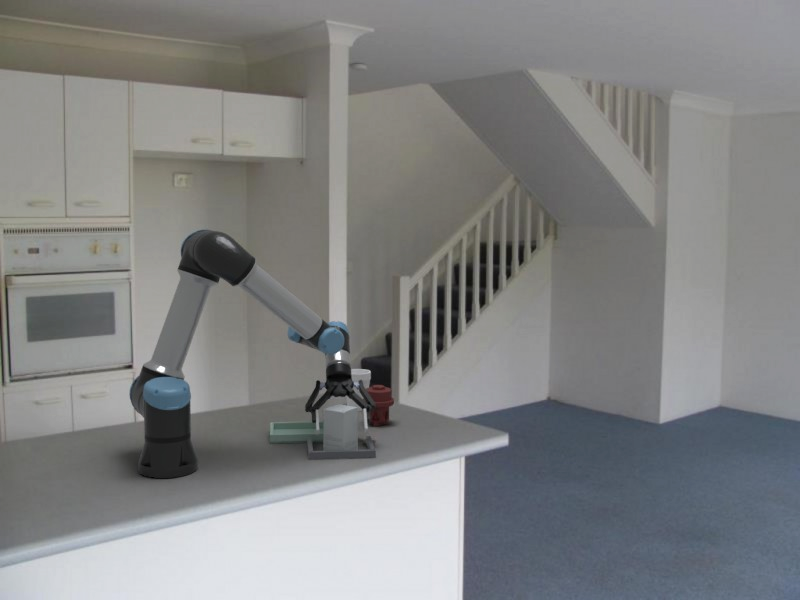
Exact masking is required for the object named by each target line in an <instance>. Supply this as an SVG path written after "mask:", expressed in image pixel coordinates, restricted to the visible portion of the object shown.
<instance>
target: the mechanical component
mask: <svg viewBox="0 0 800 600" xmlns="http://www.w3.org/2000/svg"><path fill="white" fill-rule="evenodd" d="M366 390H367V392H368V393H369V395H370V396H371V398H372V399H373V401H374V402H375V404H376V407H375V410H374V411H370V416H371V418H370V422H369V423H371V424H373V426H374V427H376V426H377V427H379V426H382V425H387V424H389V420H390V407H392V406H393V405H394V404H395V399H394V398H393V397H392V392H393V391H392V389H391V388H390V387H386V386H385V385H383V384H373V385H372V386H369V388H367V389H366ZM363 400H364V401H365V399H364V398H363ZM365 402H366V401H365ZM366 403H367V402H366ZM381 424H382V425H381Z"/></svg>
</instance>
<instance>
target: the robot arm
mask: <svg viewBox="0 0 800 600" xmlns="http://www.w3.org/2000/svg"><path fill="white" fill-rule="evenodd" d="M180 257H181V258H180V261H179V265H178V268H177V270H176V271H177V273H178V275H179V280H178V284H177V286H176V289H175V292H174V295H173V298H172V301H171V303H170V305H169V309H168V312H167V314H166V316H165V320H164V323H163V325H162V328H161V331H160V334H159V336H158V339H157V342H156V345H155V347H154V350H153V353H152V356H151V359H150V360H149V361H145V363H143V364H142V368H141V370H140V372H139V375H138V376H137V377H135V378H134V380H133V381H132V383H131V385H130V387H129V400H130V403H131V405H132V407H133V409H134V410H135V411H136V412H137V414H139V415H141V417H142V418H143V421H144V422H143V425H144V427H143V429H144V433H143V434H144V443H143V446H142V449H141V452H140V453H141V454H139V458H138V462H137V472H138V474H139V473H140V474H139V475H141V474H142V475H141V476H143V475H144V476H143V477H146V476H148V477H147V478H151V477H154V478H153V479H171V478H179V477H184V476H187V475H190V474H192V472H193V473H195V472H196V471H197V470H198V469H199V458H198V455H197V453H196V450H195V447H194V444H193V442H192V438H191V437H192V433H191V432H192V431H191V430H192V429H191V428H192V427H191V425H192V424H191V423H192V422H191V419H192V418H191V400H192V393H191V387H190V385H189V382H188V381H186V380H185V375H184V372H183V370H182V369H183V367H184V363H185V360H186V357H187V355H188V352H189V350H190V347H191V344H192V342H193V339H194V335H195V333H196V331H197V327H198V324H199V322H200V319H201V317H202V316H201V315H202V314H203V311H204V308H205V304H206V302H207V299H208V296H209V294H210V290H211V288H213V287H215V286H218V284H219V282H220V279H222V280H223V281H225V282H227V283H228V284H229V285H231V287H239V288H240V289H241V290H243V291H244V292H245V293H247V294H248V295H249V296H251V298H253V299H254V300H255V301H257V302H258V303H259V304H260V305H262V307H265V309H266V310H268V311H269V312H270V313H272V314H273V315H274V316H275V317H277V318H278V319H279V320H280V321H282V322H283V323H284V324H286V325H287V326H288V328H287V338H288V339H289V341H292V342H295V343H296V344H300V345H303V346H306V347H308V348H312V349H314V350H316V351H319V352H321V353H323V354H324V356H325V357H324V359H325V382H321V381H320V380H319V379H318V380H316V381H315V386H314V389H313V390H312V393H311V394H310V396H309V398H308V399H307V402H306V403H305V406H304V411H305V413H310V414H311V422H312V423H316V435H318V434H319V421H320V416H319V410H320V409H321V408H322V406H324V404H325V403H326V402H327V401H328V400H330V399H331V397H334V398H338V397H341V398H346V396H348V397H349V398H350V399H352V400H353V401H354V402H355V403H356V404H357V405H358V406H360V407H361V408H362V409H363V411H362V418H363V419H362V421H363V433H364V434H367V433H368V429H369V427H368V422H369V423H371V422H370V418H371V416H370V411H374V410H375V407H376V404H375V402H374V401H373V399H372V398H371V396H370V395H369V393H368V392H367V390H366V389H365V387H364V385H363V381H362V380H359V382H353V381H352V375H351V369H352V365H351V364H352V363H351V349H350V346H351V345H350V335H349V333H350V332H349V329H348V325H347V324H346V323H344V322H342V321H339V320H337V321H334V320H333V321H329V322H327V321H325V320H324V319H323V318H321V317H320V316H319V315H318V314H317V313H316V312H315V311H313V309H311V308H310V307H308V306H307V305H306V304H305V303H304V302H303V301H301V300H300V299H299V298H298V297H296V296H295V295H294V294H293V293H292V292H290V291H289V290H288V289H286V288H285V286H283V285H282V284H281V283H279V281H277V280H276V279H275V278H274V277H272V276H271V275H270V274H269V273H268V272H266V271H265V270H264V269H263V268H262V267H260V266H259V265H258V264H257V258H256V257H254V256H253V255H252V254H251V253H250V252H248V251H247V249H245V248H244V247H243V245H241V244H240V243H239V242H238V241H236V239H235V238H233V237H232V236H230V235H229V234H227V233H226V232H223V231H219V230H212V229H208V228H207V229H198V230H195V231H193V232H190V233H189V234H188V235H187V236H186V237H185V238H184V239H183V241H182V243H181V246H180ZM353 387H356V389H357V390H359V392H360V393H361V395H362V396H363V398H364V399H365V401H366V402H367V403H366V402H365V401H364V400H363V399H362V398H361V397H360V396H359V395H357V394H356V393H355V392H354V390H353V389H352V388H353ZM324 388H325V389H326V391H325V392H324V394H322V396H320V398H318V400H316V399H317V397H318V396H319V393H320V391H322V390H323V389H324ZM315 401H316V402H315Z"/></svg>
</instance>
